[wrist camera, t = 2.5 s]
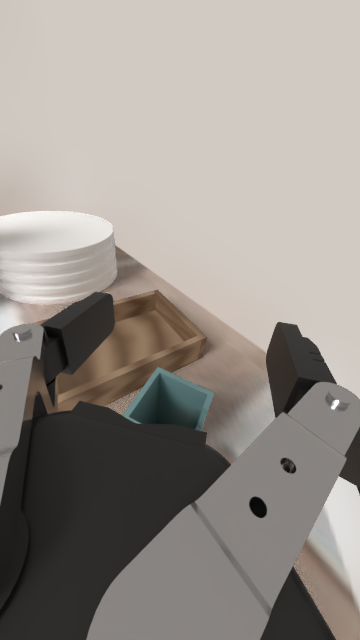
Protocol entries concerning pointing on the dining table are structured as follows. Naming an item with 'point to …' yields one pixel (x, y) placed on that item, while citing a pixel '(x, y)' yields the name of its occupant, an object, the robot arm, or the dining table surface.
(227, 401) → the dining table surface
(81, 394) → the tray
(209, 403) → the teal open box
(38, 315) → the dining table surface
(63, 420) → the robot arm
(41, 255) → the plate stack
